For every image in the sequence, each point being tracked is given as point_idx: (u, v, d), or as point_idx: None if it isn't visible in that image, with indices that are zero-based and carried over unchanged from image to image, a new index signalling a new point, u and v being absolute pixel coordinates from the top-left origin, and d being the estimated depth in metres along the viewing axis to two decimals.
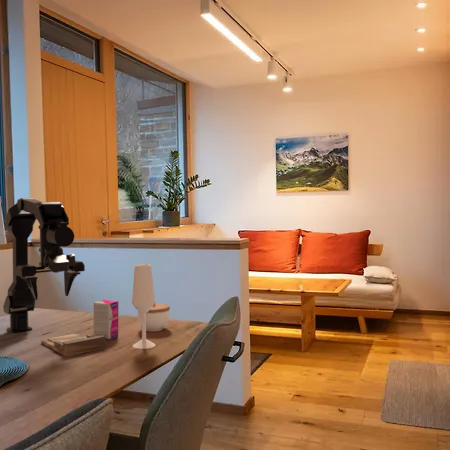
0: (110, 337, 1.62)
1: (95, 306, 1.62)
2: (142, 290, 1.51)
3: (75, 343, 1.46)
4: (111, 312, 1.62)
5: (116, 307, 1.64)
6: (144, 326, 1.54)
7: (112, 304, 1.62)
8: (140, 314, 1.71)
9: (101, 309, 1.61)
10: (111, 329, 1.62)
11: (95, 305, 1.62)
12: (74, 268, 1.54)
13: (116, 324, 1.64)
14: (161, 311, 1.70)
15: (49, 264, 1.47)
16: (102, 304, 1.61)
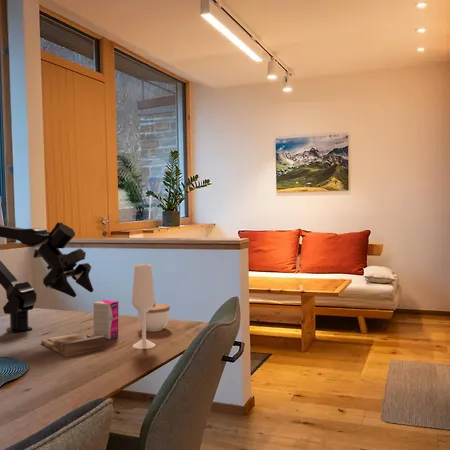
0: (110, 337, 1.62)
1: (95, 306, 1.62)
2: (142, 290, 1.51)
3: (75, 343, 1.46)
4: (111, 312, 1.62)
5: (116, 307, 1.64)
6: (144, 326, 1.54)
7: (112, 304, 1.62)
8: (140, 314, 1.71)
9: (101, 309, 1.61)
10: (111, 329, 1.62)
11: (95, 305, 1.62)
12: (84, 265, 1.73)
13: (116, 324, 1.64)
14: (161, 311, 1.70)
15: (68, 260, 1.65)
16: (102, 304, 1.61)
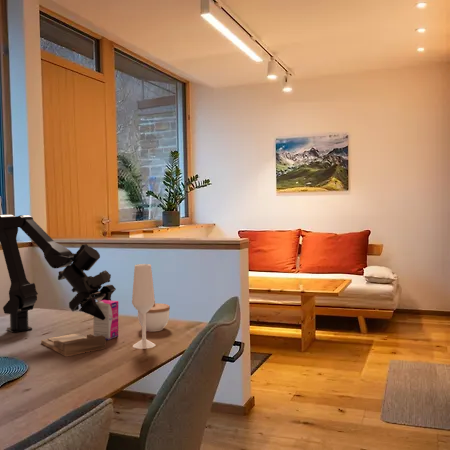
0: (110, 337, 1.62)
1: None
2: (142, 290, 1.51)
3: (75, 343, 1.46)
4: (111, 312, 1.62)
5: (116, 307, 1.64)
6: (144, 326, 1.54)
7: (112, 304, 1.62)
8: (140, 314, 1.71)
9: (101, 309, 1.61)
10: (111, 328, 1.62)
11: None
12: (109, 287, 1.70)
13: (116, 324, 1.64)
14: (161, 311, 1.70)
15: (94, 283, 1.62)
16: (102, 304, 1.61)
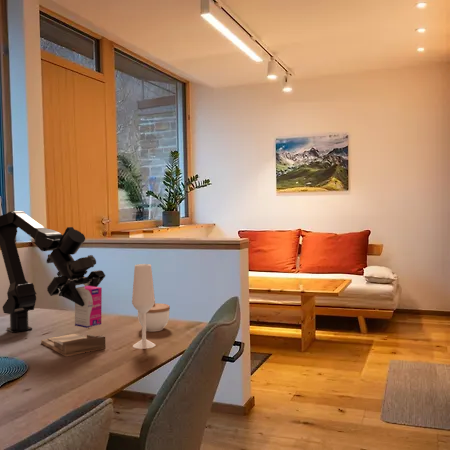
0: (90, 325, 1.54)
1: None
2: (142, 290, 1.51)
3: (75, 343, 1.46)
4: (91, 299, 1.54)
5: (98, 294, 1.56)
6: (144, 326, 1.54)
7: (93, 290, 1.55)
8: (140, 314, 1.71)
9: (81, 295, 1.54)
10: (91, 316, 1.55)
11: None
12: (96, 273, 1.63)
13: (97, 311, 1.57)
14: (161, 311, 1.70)
15: (75, 267, 1.56)
16: (82, 290, 1.54)
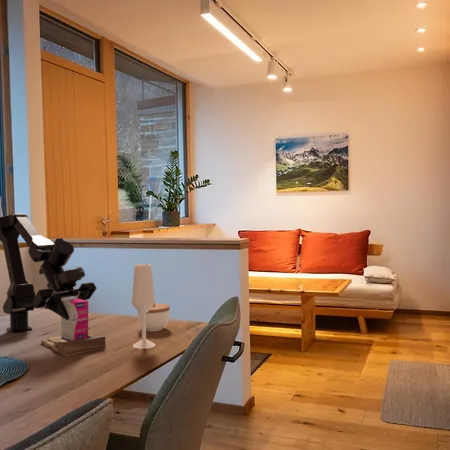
0: (74, 339, 1.50)
1: None
2: (142, 290, 1.51)
3: (75, 343, 1.46)
4: (75, 313, 1.50)
5: (84, 307, 1.52)
6: (144, 326, 1.54)
7: (78, 303, 1.51)
8: (140, 314, 1.71)
9: (66, 308, 1.51)
10: (76, 330, 1.51)
11: None
12: (86, 285, 1.59)
13: (84, 325, 1.52)
14: (161, 311, 1.70)
15: (62, 279, 1.53)
16: (67, 303, 1.51)
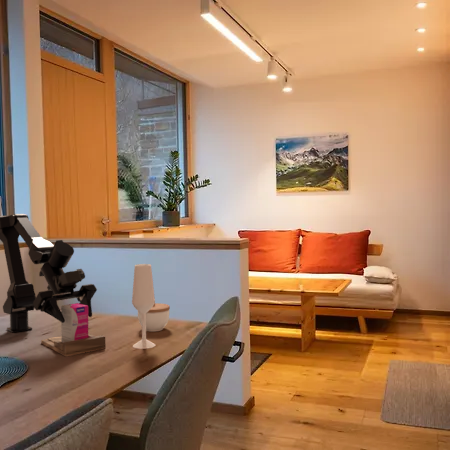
0: None
1: (62, 309, 1.52)
2: (142, 290, 1.51)
3: (75, 343, 1.46)
4: (76, 317, 1.50)
5: (84, 312, 1.52)
6: (144, 326, 1.54)
7: (78, 308, 1.51)
8: (140, 314, 1.71)
9: (66, 313, 1.51)
10: (76, 335, 1.51)
11: (62, 308, 1.52)
12: (86, 287, 1.59)
13: (84, 330, 1.53)
14: (161, 311, 1.70)
15: (62, 281, 1.52)
16: (67, 308, 1.51)
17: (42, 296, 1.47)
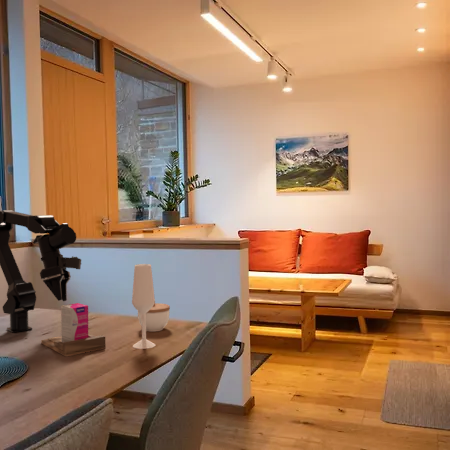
0: None
1: (62, 309, 1.52)
2: (142, 290, 1.51)
3: (75, 343, 1.46)
4: (76, 317, 1.50)
5: (84, 312, 1.52)
6: (144, 326, 1.54)
7: (78, 308, 1.51)
8: (140, 314, 1.71)
9: (66, 313, 1.51)
10: (76, 335, 1.51)
11: (62, 308, 1.52)
12: (68, 273, 1.71)
13: (84, 330, 1.53)
14: (161, 311, 1.70)
15: (68, 263, 1.64)
16: (67, 308, 1.51)
17: (60, 271, 1.56)
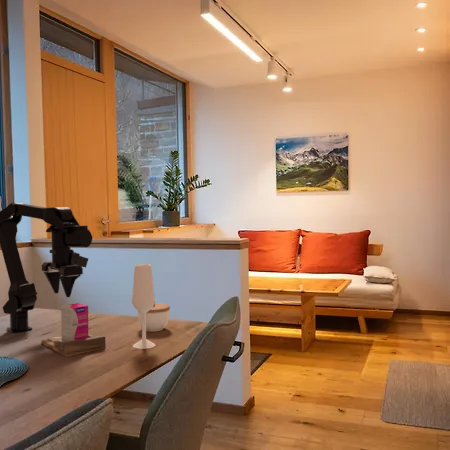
0: None
1: (62, 309, 1.52)
2: (142, 290, 1.51)
3: (75, 343, 1.46)
4: (76, 317, 1.50)
5: (84, 312, 1.52)
6: (144, 326, 1.54)
7: (78, 308, 1.51)
8: (140, 314, 1.71)
9: (66, 313, 1.51)
10: (76, 335, 1.51)
11: (62, 308, 1.52)
12: None
13: (84, 330, 1.53)
14: (161, 311, 1.70)
15: (79, 261, 1.68)
16: (67, 308, 1.51)
17: (82, 272, 1.62)
